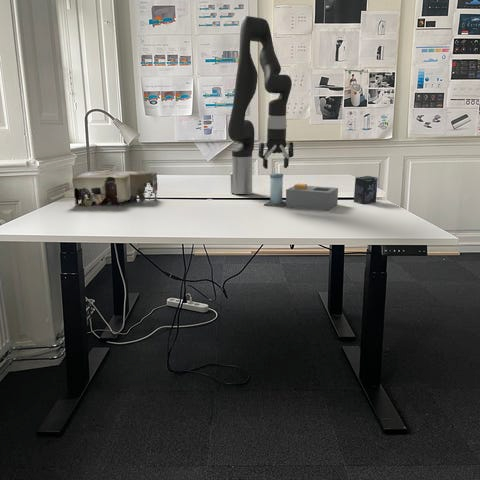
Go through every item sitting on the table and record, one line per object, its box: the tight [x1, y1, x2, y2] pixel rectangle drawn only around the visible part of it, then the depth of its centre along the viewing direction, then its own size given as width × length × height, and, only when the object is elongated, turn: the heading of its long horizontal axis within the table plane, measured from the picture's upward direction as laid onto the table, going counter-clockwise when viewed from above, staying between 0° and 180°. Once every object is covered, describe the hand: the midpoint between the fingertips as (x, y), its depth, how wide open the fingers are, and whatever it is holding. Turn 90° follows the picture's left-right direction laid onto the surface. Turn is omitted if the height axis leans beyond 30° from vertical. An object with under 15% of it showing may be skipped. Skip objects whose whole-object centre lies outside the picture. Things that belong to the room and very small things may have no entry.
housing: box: [285, 185, 339, 211], centre depth 199 cm, size 18×12×7 cm, turn 63°
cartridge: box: [269, 172, 284, 204], centre depth 201 cm, size 5×5×12 cm
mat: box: [263, 201, 286, 208], centre depth 203 cm, size 8×8×1 cm
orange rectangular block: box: [294, 183, 308, 189], centre depth 201 cm, size 4×4×5 cm
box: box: [353, 175, 379, 205], centre depth 204 cm, size 8×6×11 cm
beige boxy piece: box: [71, 170, 158, 207], centre depth 208 cm, size 18×32×13 cm, turn 86°
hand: (275, 168), depth 199 cm, fingers open, 8 cm apart
